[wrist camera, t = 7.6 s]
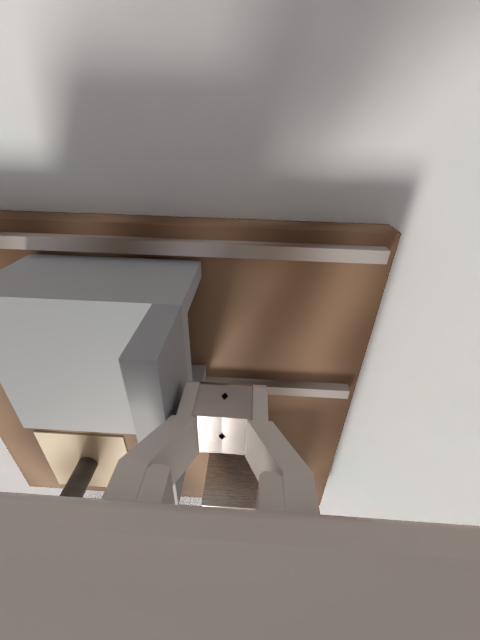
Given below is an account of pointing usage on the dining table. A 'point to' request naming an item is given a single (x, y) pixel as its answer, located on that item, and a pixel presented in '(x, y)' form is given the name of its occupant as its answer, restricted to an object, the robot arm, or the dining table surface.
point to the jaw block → (229, 482)
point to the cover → (97, 342)
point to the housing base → (226, 325)
